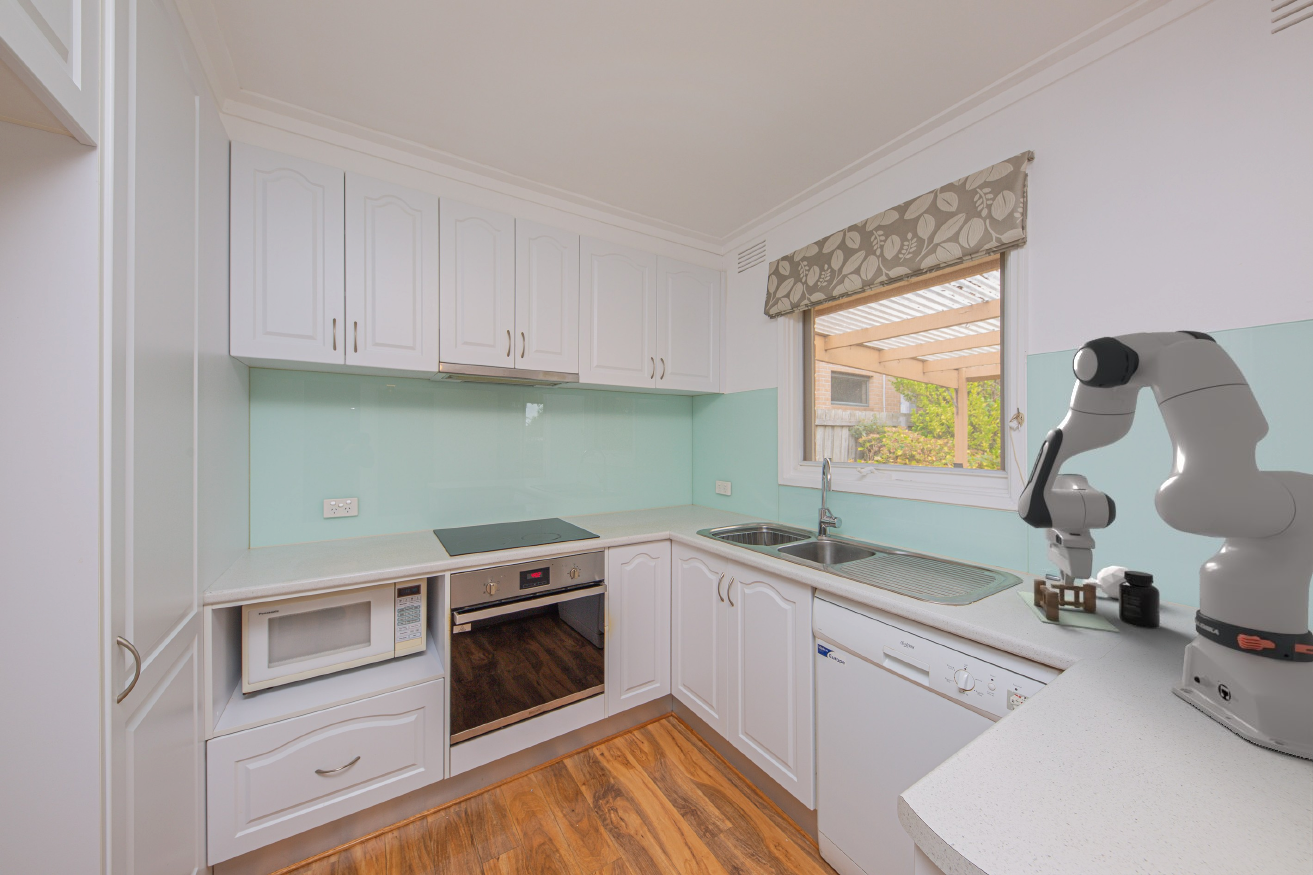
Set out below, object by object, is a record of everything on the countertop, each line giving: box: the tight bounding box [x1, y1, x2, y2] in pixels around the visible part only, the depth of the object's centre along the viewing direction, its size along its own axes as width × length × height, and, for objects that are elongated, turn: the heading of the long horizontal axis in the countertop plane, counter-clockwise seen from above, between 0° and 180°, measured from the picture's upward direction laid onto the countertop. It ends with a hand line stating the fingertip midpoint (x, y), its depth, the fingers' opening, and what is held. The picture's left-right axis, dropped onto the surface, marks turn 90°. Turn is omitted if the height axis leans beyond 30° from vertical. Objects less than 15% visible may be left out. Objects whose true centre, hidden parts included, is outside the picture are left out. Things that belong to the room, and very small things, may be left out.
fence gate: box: [1050, 583, 1097, 612], centre depth 118 cm, size 9×2×6 cm, turn 65°
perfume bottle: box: [1082, 565, 1132, 600], centre depth 128 cm, size 9×9×12 cm
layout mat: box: [1016, 590, 1121, 633], centre depth 119 cm, size 24×14×1 cm, turn 154°
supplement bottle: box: [1118, 570, 1161, 629], centre depth 111 cm, size 7×7×12 cm
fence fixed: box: [1033, 578, 1059, 622], centre depth 117 cm, size 12×2×7 cm, turn 154°
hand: (1067, 586), depth 123 cm, fingers closed
